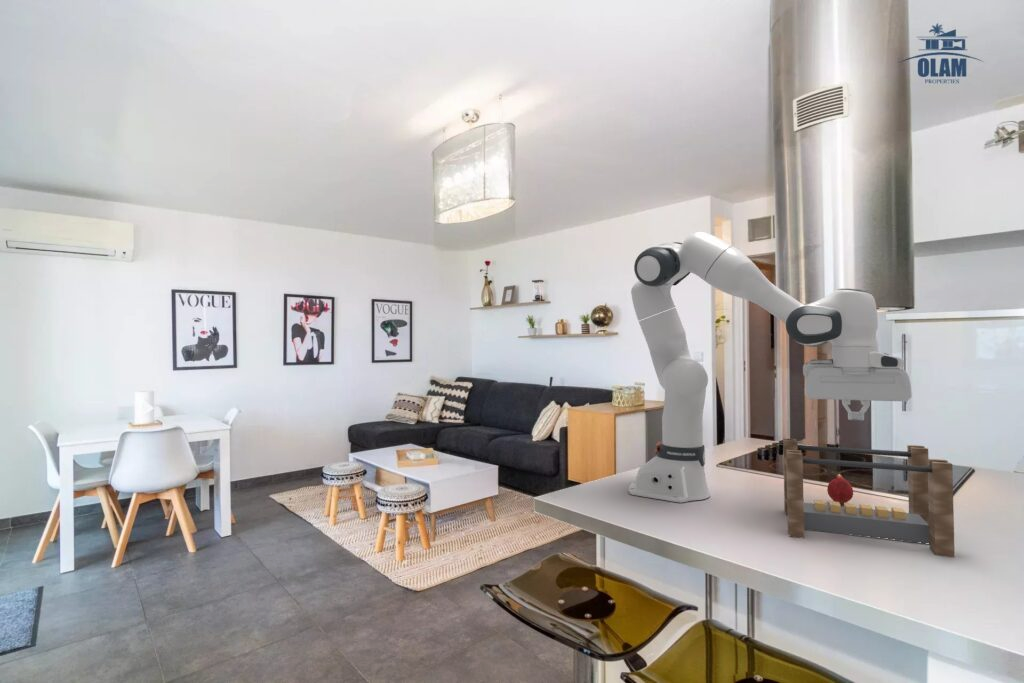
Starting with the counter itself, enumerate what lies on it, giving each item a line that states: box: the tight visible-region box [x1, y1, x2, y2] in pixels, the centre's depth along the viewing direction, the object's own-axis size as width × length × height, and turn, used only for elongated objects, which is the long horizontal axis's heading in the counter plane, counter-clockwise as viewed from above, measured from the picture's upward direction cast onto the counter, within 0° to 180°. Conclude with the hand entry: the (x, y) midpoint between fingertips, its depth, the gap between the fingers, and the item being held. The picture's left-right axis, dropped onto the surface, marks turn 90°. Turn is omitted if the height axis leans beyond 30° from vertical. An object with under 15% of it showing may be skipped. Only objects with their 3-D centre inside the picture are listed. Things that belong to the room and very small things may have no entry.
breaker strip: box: [804, 499, 930, 545], centre depth 118 cm, size 24×8×6 cm, turn 65°
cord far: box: [797, 444, 911, 458], centre depth 125 cm, size 28×1×1 cm, turn 65°
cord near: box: [803, 457, 932, 473], centre depth 110 cm, size 28×1×1 cm, turn 65°
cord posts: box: [782, 437, 955, 558], centre depth 118 cm, size 29×20×18 cm
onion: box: [826, 473, 854, 506], centre depth 136 cm, size 6×6×8 cm
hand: (856, 420), depth 118 cm, fingers closed
